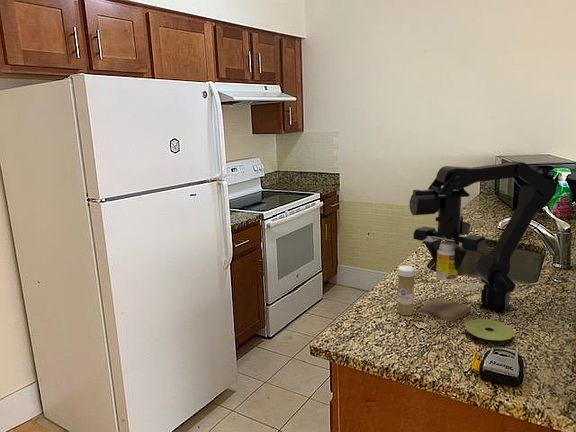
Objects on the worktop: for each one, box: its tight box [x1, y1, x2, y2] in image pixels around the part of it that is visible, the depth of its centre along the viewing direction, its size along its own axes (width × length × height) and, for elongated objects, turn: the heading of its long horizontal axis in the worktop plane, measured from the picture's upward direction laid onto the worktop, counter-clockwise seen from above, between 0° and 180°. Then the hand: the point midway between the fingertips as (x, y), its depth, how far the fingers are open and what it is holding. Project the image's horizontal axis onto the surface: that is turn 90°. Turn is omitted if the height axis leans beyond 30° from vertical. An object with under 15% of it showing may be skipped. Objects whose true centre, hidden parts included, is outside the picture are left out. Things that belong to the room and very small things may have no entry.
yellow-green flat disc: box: [464, 318, 516, 341], centre depth 108 cm, size 11×11×2 cm
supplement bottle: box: [435, 240, 458, 282], centre depth 120 cm, size 6×6×10 cm
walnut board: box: [419, 297, 472, 323], centre depth 123 cm, size 10×10×1 cm
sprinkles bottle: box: [396, 265, 416, 316], centre depth 121 cm, size 5×5×14 cm
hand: (447, 267), depth 120 cm, fingers closed on supplement bottle, 5 cm apart
